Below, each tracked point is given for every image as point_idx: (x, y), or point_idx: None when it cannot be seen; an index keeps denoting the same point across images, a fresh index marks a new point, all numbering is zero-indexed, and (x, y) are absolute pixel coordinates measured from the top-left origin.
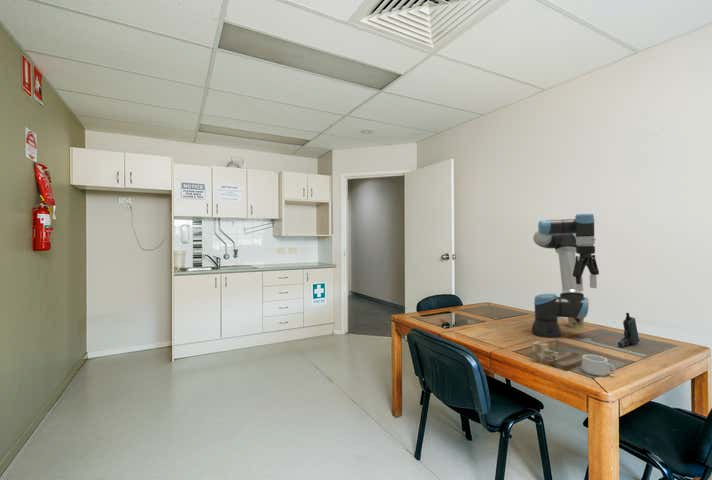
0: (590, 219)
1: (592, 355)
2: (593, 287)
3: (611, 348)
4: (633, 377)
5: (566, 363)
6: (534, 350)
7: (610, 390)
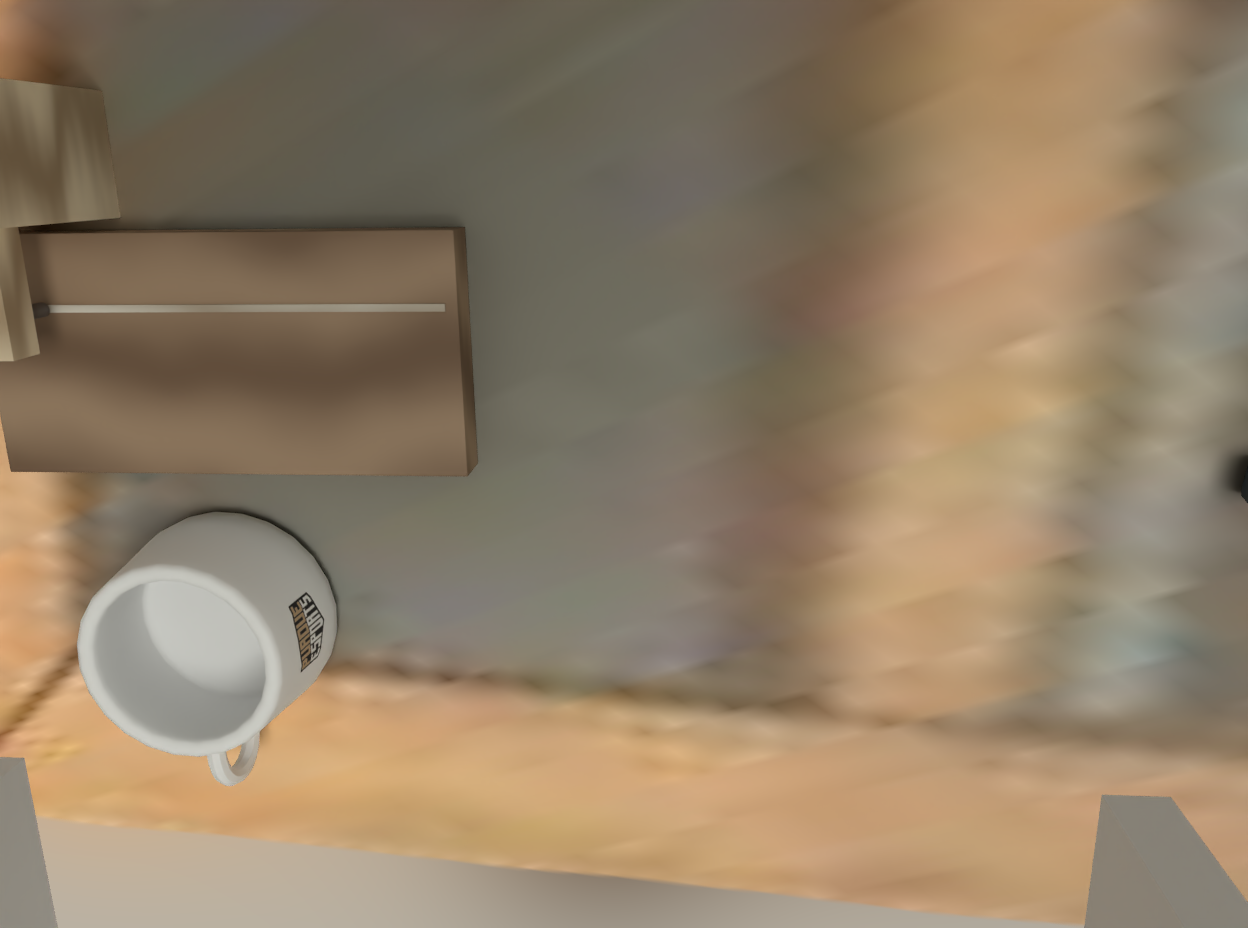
0: None
1: (243, 616)
2: (1095, 924)
3: (1117, 427)
4: (381, 819)
5: (70, 433)
6: None
7: None
